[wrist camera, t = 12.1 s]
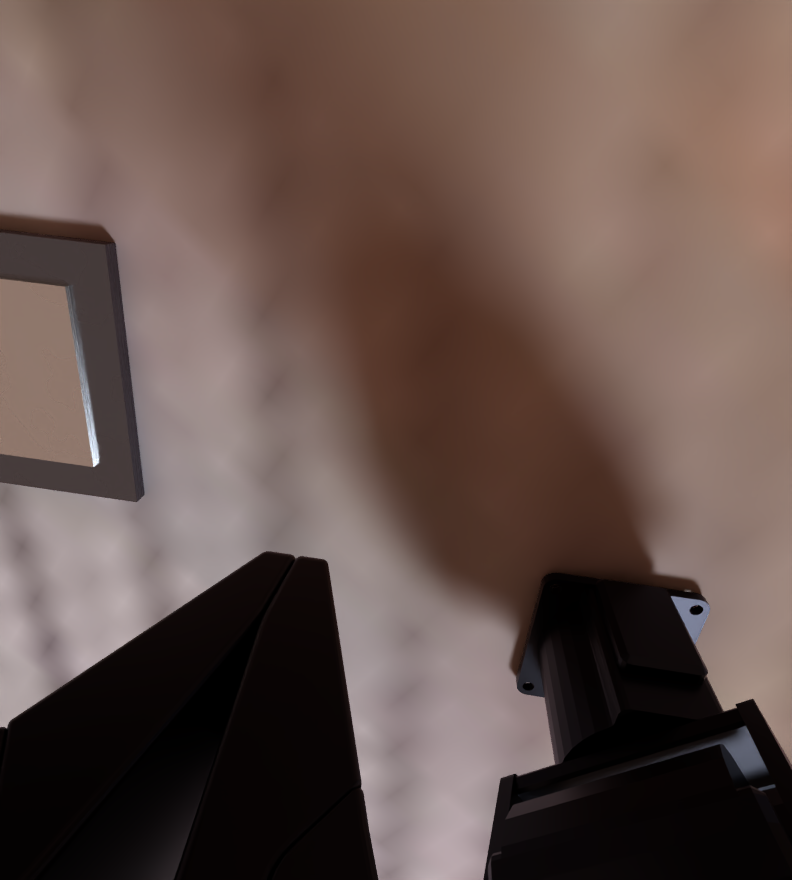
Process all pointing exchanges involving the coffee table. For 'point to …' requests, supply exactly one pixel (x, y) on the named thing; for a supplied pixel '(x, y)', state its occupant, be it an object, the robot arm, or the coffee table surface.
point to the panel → (65, 369)
